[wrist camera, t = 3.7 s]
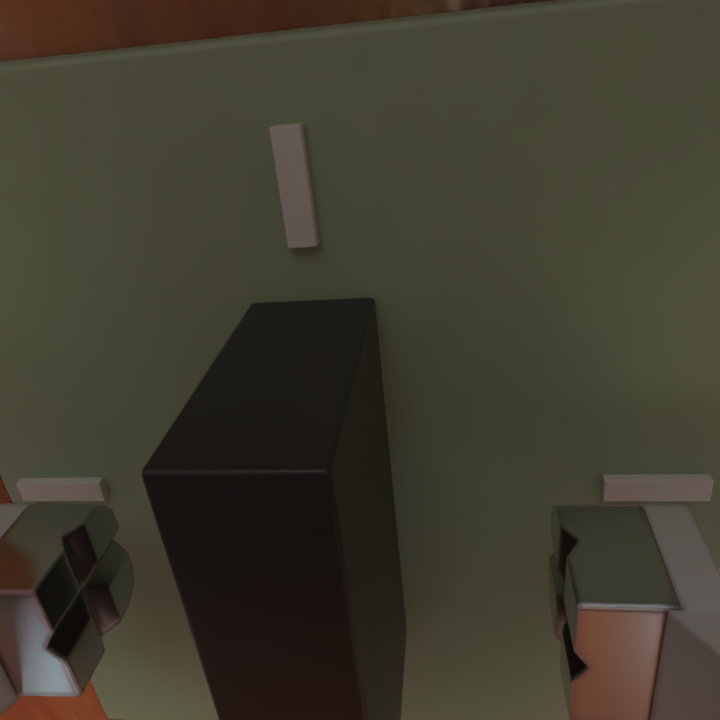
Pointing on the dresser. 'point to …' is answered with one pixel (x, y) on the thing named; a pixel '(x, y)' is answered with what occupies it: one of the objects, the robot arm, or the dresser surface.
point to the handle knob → (288, 518)
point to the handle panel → (380, 296)
